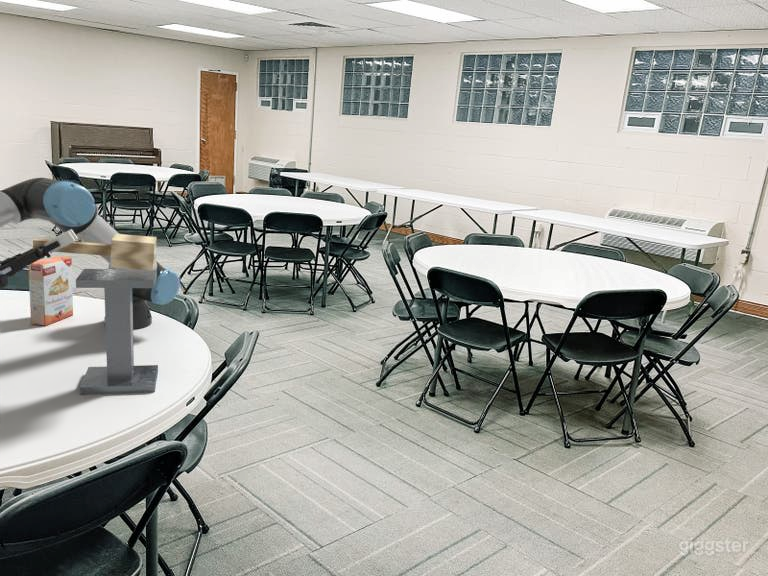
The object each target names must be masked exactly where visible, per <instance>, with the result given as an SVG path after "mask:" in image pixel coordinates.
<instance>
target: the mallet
mask: <svg viewBox="0 0 768 576" xmlns="http://www.w3.org/2000/svg"><path fill="white" fill-rule="evenodd" d="M157 238H158V237H157V236H147V235H146V236H145V235H137V234H134V235H133V234H123V233H119V234H115V236H114V237H113V239H112V240H111V244H101V243H88V242H83V241H75V242H73V243H71V244H69V245H67V246H65V247H63V248H61V249H59V250H57V251H55V252H54V253H65V254H66V253H67V254H77V255H78V254H79V255H92V256H100V255H104V256H111V263H110V268H123V269H137V270H151V271H153V269H154V265H155V260H156V256H157V255H156V254H157ZM49 241H51V238H50V239H48V238H33V240H32V248H33V250H34V249H36V248H38V247H40V246H41V245H44V244H45V243H47V242H49ZM44 247H45V245H44Z"/></svg>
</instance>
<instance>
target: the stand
mask: <svg viewBox="0 0 768 576" xmlns="http://www.w3.org/2000/svg"><path fill="white" fill-rule="evenodd" d="M156 278H157V270H153V271H151V270H137V269H108V268H84V269H83V270H82V271H81V272H80V273H79V274H78V276H77V277H76V279H75V288H76V289H82V288H83V289H104V314H105V316H104V318H105V321H104V325H105V324H106V326H105V348H106V351H105V352H106V354H105V355H106V366H89V367H88V368H87V369H86V372H85V374H84V376H83V379H82V381H81V384H80V385H79V395H80V396H83V395H106V394H107V395H108V394H112V395H113V394H133V393H138V394H139V393H154V392H156V386H157V380H158V375H159V374H158V373H159V365H158V364H153V365H152V364H151V365H150V364H149V365H148V364H147V365H135V362H134V361H135V357H134V356H135V355H134V329H133V301H132V288H154V286H155V282H156Z"/></svg>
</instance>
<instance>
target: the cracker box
mask: <svg viewBox="0 0 768 576" xmlns="http://www.w3.org/2000/svg"><path fill="white" fill-rule="evenodd" d="M72 262H73V261H72V257H66V256H61V255H58V256H57V255H56V256H54V257H53V256H51V257H49V258H45V259H44V258H43V259H39V260H38V261H36V262H34V263H32V264H30V265H28V266H27V268H28V283H29V284H28V285H29V288H28V289H29V305H30V306H29V307H30V324H31V325H38V326H43V327H46V326H48V325H52V324H54V323H57V322H59V321H61V320H65V319H67V318H69V317H73V316H74V304H73V300H74V299H73V298H74V297H73V264H72Z"/></svg>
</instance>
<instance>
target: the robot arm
mask: <svg viewBox="0 0 768 576" xmlns="http://www.w3.org/2000/svg"><path fill="white" fill-rule="evenodd" d="M34 219H35V220H36V219H39V220H43V221H47V222H50V223H51V224H53V225H54V226H55V227H56V228H58V229H59V230H60V231H61V232H62V233H61V234H58V235H57V236H55V237H52V238H50V240H51V241H49V242H47V243H45V244H44V245H45V247H44V245H41V246H40V247H38V248H36V249H34V250H33V247H32V248H31V249H28V250H26V251H24V252H21V253H17V254H15V255H14V256H11V257H7V258H5V259H3V260H2V261H1V262H0V290H2V289H3V288H6V287H7V286H8V284H9V278H8V277H12V276H15V275H16V274H17V273H18V272H20V271H23V270H24V269H25V268H26V267H28V265H30V264H32V263H34V262H36V261H40V260H44V258H45V257H47V258H46V259H48V258H52V255H51V254H53V253H56V252H55V251H57V250H59V249H61V248H63V247H65V246H67V245H69V244H71V243H73V242H76V240H78V238H79V240H80V241H81V242H88V243H101V244H111V240H112V239H113V237H114V236H115V234H120V233H119V232H118V231H117V230H116V229H115V228H114V227H113V226H111V224H109V223H108V222H107V221H106V220H105V219H103V218H102V216H100V215H99V207H98V206H97V205H96V204H95V198H94V196H93V195H92V193H91V192H90V191H89V190H88V189H87V188H86V187H84V186H82V185H80V184H78V183H76V182H72V181H66V180H64V181H63V180H59V179H58V180H57V179H52V178H47V177H33V178H30V179H27V180H24V181H21V182H18V183H15V184H14V185H11V186H9V187H7V188H6V187H5V188H4V189H1V190H0V228H2V227H4V226H6V225H8V224H10V223H11V224H15V225H17V224H19V223H22V222H24V221H28V220H34ZM99 256H100V257H101V258H102V260H104V261H106V262H107V263H108V268H107V269H123V268H110V263H111V256H104V255H99ZM153 270H157V278H156V282H155V286H154V288H132V301H133V330H137V329H138V330H139V329H143V328H145V327H149V326H150V325H151V324H152V323H153V320H152V319H153V317H152V316H153V315H152V313H151V310H150V308H149V305H148V302H150V303H153V304H154V305H167V304H169V303H171V302H172V301H173V300H174V299H175V298H176V296H177V295H178V293H179V289H180V283H181V282H180V277H179V275H178V274H177V272H175V271H174V270H172V269H169V268H168V269H167V268H165V267H164V266H162V264H161V263H159V262H158V261H157V260H156V259H155V265H154V269H153ZM104 322H105V317H104ZM104 326H105V327H106V324H105V323H104Z"/></svg>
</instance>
